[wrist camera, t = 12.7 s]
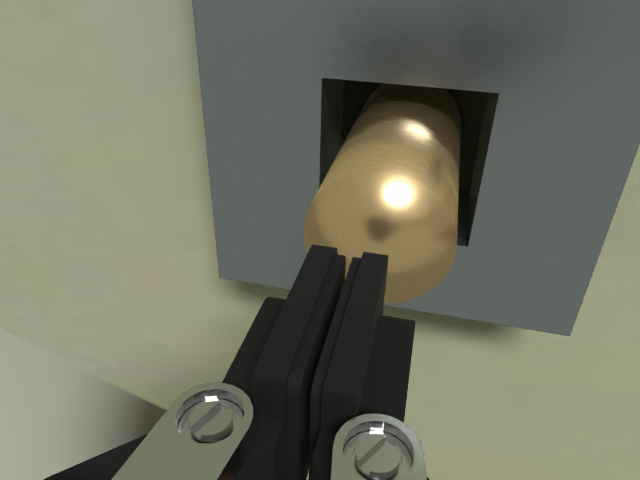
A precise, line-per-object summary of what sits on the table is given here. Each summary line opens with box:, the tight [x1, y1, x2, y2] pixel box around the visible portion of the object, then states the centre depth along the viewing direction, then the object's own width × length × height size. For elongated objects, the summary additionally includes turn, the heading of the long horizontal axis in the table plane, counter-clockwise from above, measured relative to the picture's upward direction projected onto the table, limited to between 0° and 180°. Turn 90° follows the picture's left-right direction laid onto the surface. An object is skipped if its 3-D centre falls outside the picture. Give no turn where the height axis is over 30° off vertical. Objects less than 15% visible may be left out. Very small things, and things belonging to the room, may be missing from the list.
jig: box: [192, 0, 640, 336], centre depth 17 cm, size 14×20×4 cm
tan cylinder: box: [303, 83, 461, 303], centre depth 17 cm, size 4×4×9 cm
